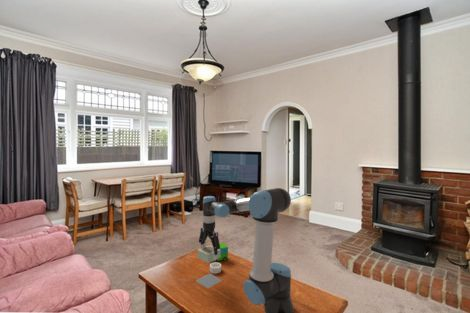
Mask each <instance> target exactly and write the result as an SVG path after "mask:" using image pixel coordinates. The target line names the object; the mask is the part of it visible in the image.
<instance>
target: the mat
mask: <svg viewBox="0 0 470 313" xmlns="http://www.w3.org/2000/svg"><path fill="white" fill-rule="evenodd" d="M194 280H195V282H197V283H198V284H200V285H202V286H203V287H205V288H207V289H210V288H211V287H213V286H215V285H217V284H219V283H221V282H222V281H223V279H221V278H219V277H217V276H215V275H214V274H213V273H211V272H209V273H207V274H206V275H204V276H201V277H199V278H198V279H194Z"/></svg>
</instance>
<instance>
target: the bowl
mask: <svg viewBox="0 0 470 313" xmlns="http://www.w3.org/2000/svg"><path fill="white" fill-rule="evenodd" d="M221 272H222V263H220V262H218V261H217V262H210V263H209V273H210V274H213V275H214V274H219V273H221Z"/></svg>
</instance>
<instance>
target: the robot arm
mask: <svg viewBox="0 0 470 313" xmlns="http://www.w3.org/2000/svg"><path fill="white" fill-rule="evenodd" d="M291 198H292V197H291V194H290V193H289V192H288V190H286V189H284V188H282V187H281V188H280V187H276V188H270V189H262V190H259V191H255V192H253V193H252V194H251V195H250V196H249V197H244V198H237V199H233V200H232V199H231V200H227V201H226V200H225V201H221V202H219V201H216V197H215V196H212V195H207V196H206V195H205V196H203V200H202V227H201V228H200V232H199V238H198V243H200V249H201V248H203V247H206V246H207V245H206V241H207V238H209V240H210V242H211V246H213V248H214V249H213V261H214V260H216V259H217V254H218V249H220V244H221V243H220V239H219V232H218V231H217V232H216V230H215V228H216V217H218V218H227V216H229V215H230V214H235V213H241V212H248V211H249V213H250V215H251V216H252V219H253V221H254V222H255V230H254V244H253V262H252V268H251V269H250V270H249V273H248V274H249V275H248V277H249V278H248V279H246V280H245V281H244V283H243V290H244V294H245V296H246V299H247V300H248V301H249V302H250V303H251V304H253V305H254V306H259V305H262V304H263V309H264V312H265V313H294V305H293V301H292V297H291V285H292V284H291V282H292V281H291V280H292V274H291V269H290V267H289V266H288V265H286V264H283V263H279V262H272V258H273V257H272V256H273V247H274V246H273V245H274V243H273V242H274V231H275V229H274V228H275V224H276V223H277V222H278V220H279V214H280V213H283V212H285V211H286V210H288V209H289V208H290V205H291V203H292V199H291ZM215 247H216V248H215Z"/></svg>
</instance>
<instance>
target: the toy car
mask: <svg viewBox="0 0 470 313" xmlns="http://www.w3.org/2000/svg"><path fill="white" fill-rule="evenodd" d="M219 244H220V250H221V257H220V258H218V259H216V260H214V261H212V262H211V263H213V262H218V261H224V262H225V261H227V260H228V259H229V247H228V246H227V245H226V243H224V242H222V243H219Z"/></svg>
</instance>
